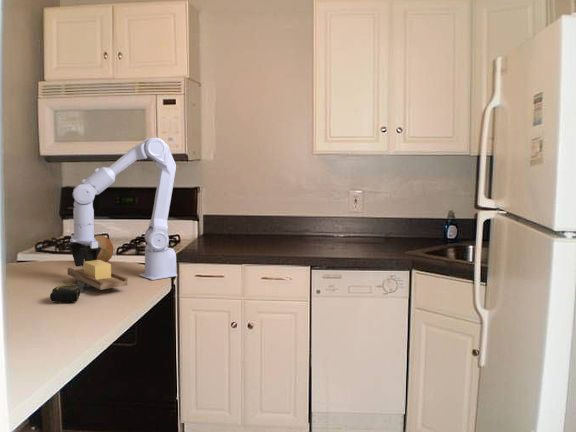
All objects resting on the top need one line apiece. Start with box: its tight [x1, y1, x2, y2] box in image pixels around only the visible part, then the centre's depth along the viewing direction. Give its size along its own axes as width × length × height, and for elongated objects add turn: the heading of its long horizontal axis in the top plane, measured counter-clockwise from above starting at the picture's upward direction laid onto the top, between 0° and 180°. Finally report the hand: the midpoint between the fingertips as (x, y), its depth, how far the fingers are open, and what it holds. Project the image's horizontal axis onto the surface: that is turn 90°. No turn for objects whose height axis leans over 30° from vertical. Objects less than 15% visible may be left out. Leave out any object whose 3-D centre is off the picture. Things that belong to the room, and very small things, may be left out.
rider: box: [83, 260, 112, 280], centre depth 155 cm, size 5×8×4 cm, turn 45°
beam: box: [67, 267, 128, 291], centre depth 156 cm, size 8×22×3 cm, turn 45°
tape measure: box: [49, 284, 81, 304], centre depth 141 cm, size 7×7×4 cm
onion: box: [94, 235, 114, 263], centre depth 186 cm, size 10×10×10 cm
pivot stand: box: [72, 280, 100, 293], centre depth 157 cm, size 12×8×2 cm, turn 135°
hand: (84, 268), depth 162 cm, fingers open, 7 cm apart
